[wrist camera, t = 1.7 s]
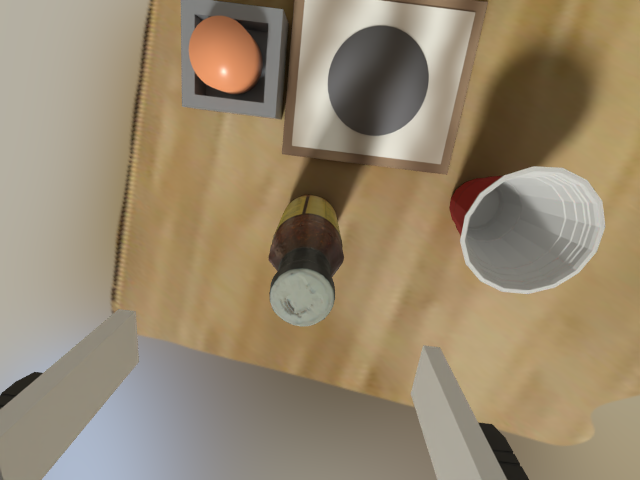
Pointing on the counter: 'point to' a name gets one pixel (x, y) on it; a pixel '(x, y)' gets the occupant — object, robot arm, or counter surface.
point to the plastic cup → (528, 227)
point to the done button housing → (272, 41)
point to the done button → (225, 55)
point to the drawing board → (380, 80)
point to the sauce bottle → (305, 261)
